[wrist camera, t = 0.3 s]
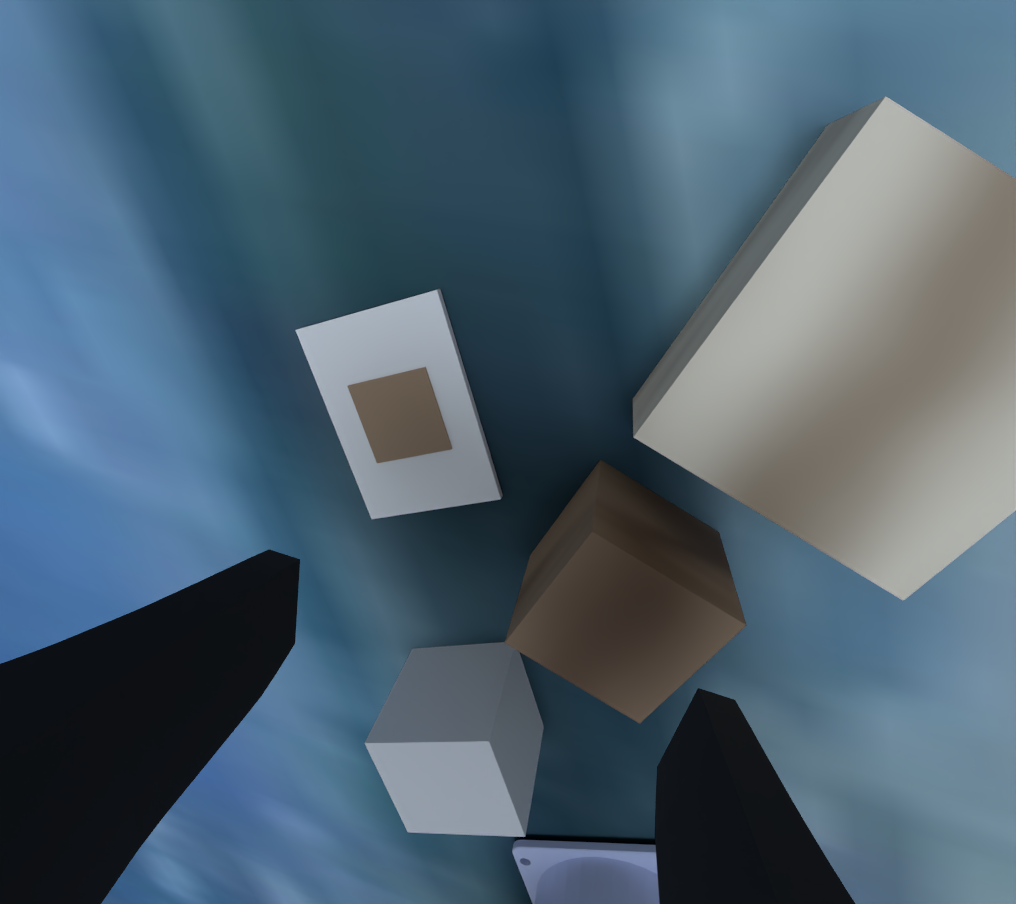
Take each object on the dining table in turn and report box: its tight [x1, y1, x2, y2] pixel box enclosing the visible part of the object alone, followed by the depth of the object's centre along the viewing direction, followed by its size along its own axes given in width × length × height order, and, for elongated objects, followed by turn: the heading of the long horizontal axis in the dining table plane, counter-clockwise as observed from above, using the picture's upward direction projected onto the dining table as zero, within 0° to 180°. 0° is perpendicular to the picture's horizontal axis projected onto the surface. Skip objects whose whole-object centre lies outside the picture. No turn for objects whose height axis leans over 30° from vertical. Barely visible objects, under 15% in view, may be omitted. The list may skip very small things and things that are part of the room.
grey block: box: [365, 642, 544, 837], centre depth 20 cm, size 4×4×4 cm
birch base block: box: [633, 97, 1016, 601], centre depth 13 cm, size 8×8×4 cm
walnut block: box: [505, 460, 746, 723], centre depth 16 cm, size 4×4×4 cm
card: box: [296, 289, 503, 519], centre depth 18 cm, size 7×5×1 cm
